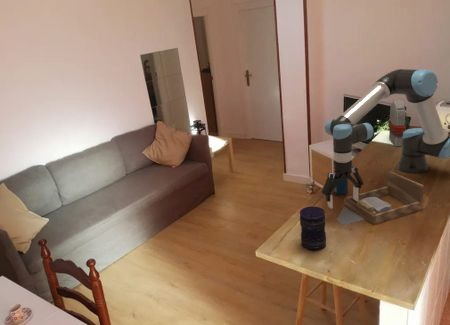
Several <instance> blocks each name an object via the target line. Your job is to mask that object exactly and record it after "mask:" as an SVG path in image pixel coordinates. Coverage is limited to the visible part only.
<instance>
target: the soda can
mask: <svg viewBox="0 0 450 325" xmlns="http://www.w3.org/2000/svg"><path fill="white" fill-rule="evenodd" d="M334 177H335V176H334ZM336 180H338V179H336ZM348 180H349V179H347V180H343V181H340V182H339V183H338V184H337V186H336V187H335V189H334V190H333V193H334V194H335V195H337V196H339V195H340V197H341V195H343V196H346V195H347V194H348V192H349V187H348V186H349V185H348V184H349V181H348Z"/></svg>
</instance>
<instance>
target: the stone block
mask: <svg viewBox="0 0 450 325" xmlns="http://www.w3.org/2000/svg"><path fill="white" fill-rule="evenodd" d="M363 200H365V201H366V202H367V203H369V204H370V205H372V206H373V207H374V211H375V212H376V213H377V214H378V213H381V212H384V211H388V210H391V209H392V204H391V203H389V202H387V201H384V200H382V199H380V197H378V198H377V197H368V198H365V199H363Z"/></svg>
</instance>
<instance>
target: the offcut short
mask: <svg viewBox="0 0 450 325" xmlns="http://www.w3.org/2000/svg"><path fill="white" fill-rule="evenodd" d="M356 204H358V205H359V206H361V207H363V208H364V209H366V210H368V211H369V212H374V207H373V206H372V205H370V204H369V203H367V202H366V201H365V200H359V201H357V203H356Z"/></svg>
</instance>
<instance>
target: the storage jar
mask: <svg viewBox="0 0 450 325" xmlns="http://www.w3.org/2000/svg"><path fill="white" fill-rule="evenodd" d="M299 224H300V229H301V232H300V240H301V246H302V248H303V249H305V250H307V251H310V252H319V251H323V250H324V249H325V248H326V247H327V242H326V241H327V235H326V211H325V210H324V208H321V207H319V206H306V207H304V208H303V207H302V208H301V210H300V211H299Z"/></svg>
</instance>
